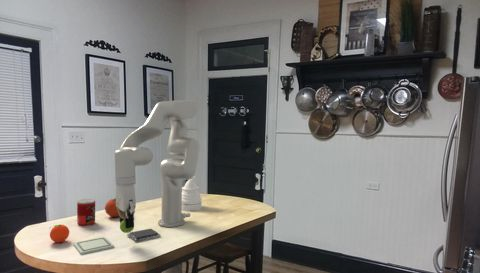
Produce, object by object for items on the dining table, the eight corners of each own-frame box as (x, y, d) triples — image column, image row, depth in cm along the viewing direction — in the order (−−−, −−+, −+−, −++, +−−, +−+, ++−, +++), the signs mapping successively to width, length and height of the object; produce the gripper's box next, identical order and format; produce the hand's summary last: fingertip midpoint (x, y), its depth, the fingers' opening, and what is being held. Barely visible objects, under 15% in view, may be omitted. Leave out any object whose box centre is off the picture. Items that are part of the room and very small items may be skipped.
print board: (104, 238, 136) (104, 236, 136) (114, 247, 126) (114, 244, 126) (73, 244, 128) (73, 242, 128) (80, 254, 119) (80, 252, 119)
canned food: (88, 226, 151) (88, 203, 150) (73, 225, 152) (73, 202, 152) (98, 221, 158) (98, 199, 158) (84, 220, 160) (84, 198, 159)
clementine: (43, 245, 128) (43, 227, 127) (53, 238, 135) (53, 221, 134) (63, 245, 128) (63, 227, 127) (72, 239, 135) (72, 222, 134)
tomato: (100, 218, 164) (100, 198, 164) (112, 213, 174) (113, 194, 174) (118, 220, 162) (118, 200, 161) (130, 214, 172) (130, 195, 171)
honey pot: (190, 204, 196) (190, 174, 196) (206, 207, 189) (206, 176, 188) (174, 208, 186) (174, 177, 185) (190, 212, 178) (190, 179, 178)
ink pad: (151, 231, 146) (151, 227, 146) (160, 236, 139) (160, 233, 139) (127, 236, 139) (127, 232, 139) (135, 242, 132) (135, 238, 132)
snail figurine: (119, 230, 132) (118, 201, 131) (135, 229, 133) (134, 200, 132) (115, 235, 127) (114, 205, 126) (132, 234, 128) (131, 204, 127)
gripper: (108, 178, 133) (110, 221, 134) (123, 186, 119) (125, 234, 121) (127, 175, 137) (128, 217, 139) (143, 183, 124) (144, 229, 125)
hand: (127, 224), depth 130 cm, fingers closed on snail figurine, 5 cm apart
